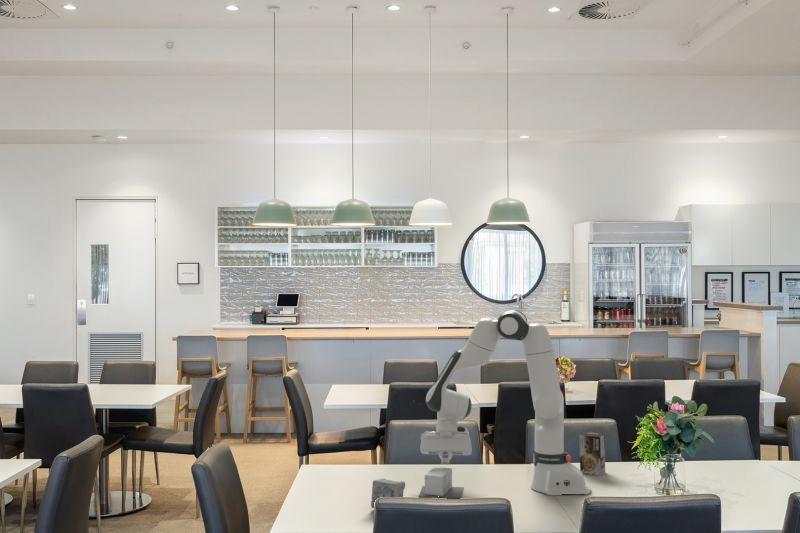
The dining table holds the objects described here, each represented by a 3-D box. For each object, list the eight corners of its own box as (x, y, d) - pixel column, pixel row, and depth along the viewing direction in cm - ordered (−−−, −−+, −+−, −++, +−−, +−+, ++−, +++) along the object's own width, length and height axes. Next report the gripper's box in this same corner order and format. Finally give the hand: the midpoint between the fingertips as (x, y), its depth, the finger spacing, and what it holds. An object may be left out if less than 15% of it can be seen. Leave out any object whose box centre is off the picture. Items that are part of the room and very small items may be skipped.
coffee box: (605, 472, 295) (605, 433, 295) (601, 476, 289) (600, 436, 290) (584, 469, 300) (583, 431, 300) (579, 473, 294) (578, 434, 294)
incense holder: (405, 508, 252) (405, 478, 252) (395, 515, 244) (394, 485, 245) (381, 504, 256) (381, 475, 257) (370, 511, 249) (370, 481, 249)
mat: (463, 488, 274) (463, 487, 274) (461, 498, 262) (461, 497, 262) (422, 486, 277) (422, 485, 277) (418, 497, 264) (418, 496, 264)
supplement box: (434, 485, 278) (423, 494, 266) (434, 466, 278) (424, 474, 266) (452, 487, 275) (442, 496, 263) (452, 468, 275) (442, 476, 263)
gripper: (420, 427, 283) (417, 458, 273) (471, 428, 280) (470, 459, 270) (421, 436, 288) (419, 466, 278) (472, 437, 285) (471, 468, 275)
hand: (445, 463), depth 274 cm, fingers closed
